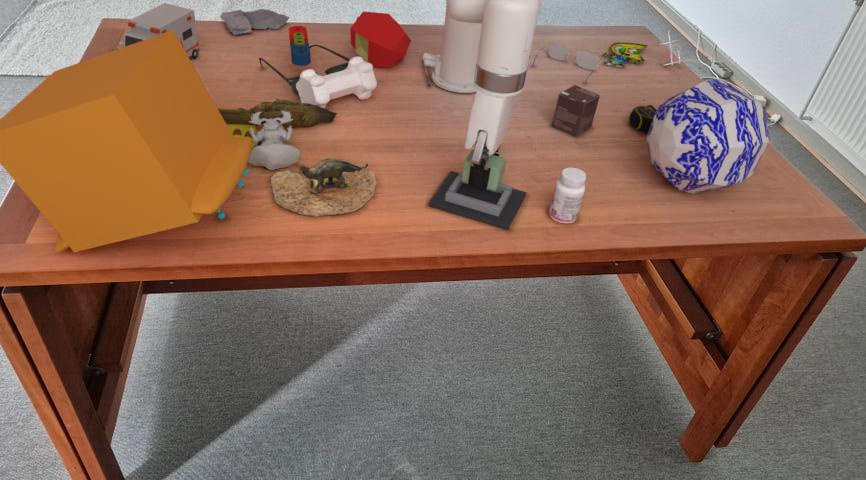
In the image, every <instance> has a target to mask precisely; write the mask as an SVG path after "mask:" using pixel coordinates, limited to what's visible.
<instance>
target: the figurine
mask: <svg viewBox="0 0 866 480" xmlns="http://www.w3.org/2000/svg"><path fill="white" fill-rule="evenodd" d="M281 112H282V113H283V115H284V116H283V118H279V117H278V118H275V119H271V118H270V119H265V118H263V119H259V115H260V113H261V112H257V113H255V114H254V113H253V115H252V116H253V118H252V116H251V120H252V121H249V122H250V123H252V124H254V125H258V126H261V128H260V129H259V131H258V130H257V134H256V136H255V134H254V129H253V130H252V127H251V128H250V132H249V133H250V134H251V136H252V138H253V143H254V142H256V147H254V149H253V150H252V151H251V153H250V156H249V160H248V164H249V165H251V166H254V167H264V168H266V169H267V170H270V171H275V170H278V169H284V168H285V169H286V168H287V167H290V166H293V165H294V164H295V163H297V162H299V160H300V158H301V152H300V150H299V149H298V148H297V147H295V146H293V145H291V144H286V142H288V141H290V140H291V138H292V137H291V136H292V134H293V131H294V129H293V127H291V126H289V127H286V128H287V130H286V129H285V128H284V127H285V126H282V125H281V124H284V123H287V122H290V121H292V120H293V119H291V115H290V113H289V112H287V111H281ZM276 120H280V121H281V123H279V122H278V121H276ZM262 121H266V123H265V124H263V125H262V124H261V122H262ZM260 142H261V144H260V145H258V146H257V143H258V144H259V143H260Z"/></svg>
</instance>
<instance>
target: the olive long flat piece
mask: <svg viewBox="0 0 866 480" xmlns="http://www.w3.org/2000/svg"><path fill="white" fill-rule="evenodd" d="M217 108H218V110H219V112H220V114H221V116H222V117H223V119H224V121H225V122H230V123H250V122H249V121H252V120H251V116H252V115H253V113H254V114H255V113H257V112H261V113H260V115H259V119H263V118H265V119H270V118H271V119H275V118H278V117H279V118H283V116H284V115H283V113H282V112H281V111H287V112H289V113H290V115H291V119H293V120H292V121H290V122H287V123H284V124H281V125H282V126H283V127H286V128H287V127H288V128H290V127H289V126H291V127H292V128H297V127H298V128H301V127H303V128H309V127H313V126H315V125H318V124H320V123H332V122H333V121H334V119H335V118H336V116H337V115H338V112H333V111H332V110H331V109H329V108H322V107H319V106H316V105H312V104H308V103H301V102H296V101H294V102H291V100H290V101H282V102H278V101H277V102H272V101H262V102H260V103H259V104H256V105H254V107H249V108H250V109H246V108H242V107H239V108H219V107H217ZM252 118H253V116H252ZM276 121H278V122H279V123H281V121H280V120H276ZM265 123H266V121H262V122H261V124H262V125H261V126H263V124H265ZM250 124H252V123H250Z"/></svg>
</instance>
